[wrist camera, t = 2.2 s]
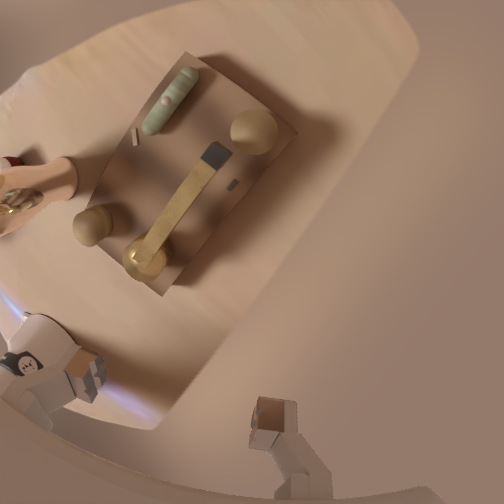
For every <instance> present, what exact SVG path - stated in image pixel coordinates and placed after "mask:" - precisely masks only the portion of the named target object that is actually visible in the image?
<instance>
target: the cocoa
mask: <svg viewBox="0 0 504 504" xmlns="http://www.w3.org/2000/svg"><path fill="white" fill-rule="evenodd" d="M14 166H24V164H23V162H22V161H21V160H20V159H19V158H16V157H0V170H1V169H5V168H9V167H14Z"/></svg>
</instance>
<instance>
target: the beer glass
mask: <svg viewBox="0 0 504 504" xmlns="http://www.w3.org/2000/svg"><path fill="white" fill-rule="evenodd" d="M77 185H78V175H77V171H76V168H75V166H74V164H73V163H72V162H71V161H70V160H69V159H67V158H65V157H59V158H56V159H54V160H53V161H51V162H49V163H47V164H44V165H32V166H14V167H9V168H5V169H1V170H0V237H1V236H3V235H6V234H8V233H10V232H12V231H14V230H16V229H17V228H19V227H21V226H22V225H24V224H25V223H27V222H28V221H29V220H31V219H32V218H33V217H34V216H36V215H37V214H38V213H39V212H41V211H42V210H43V209H44V208H46V207H47V206H48V205H50V204H52V203H55V202H61V201H66V200H68V199H70V198H71V197H72V196H73V195H74V194H75V192H76V189H77Z"/></svg>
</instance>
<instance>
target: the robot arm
mask: <svg viewBox="0 0 504 504" xmlns="http://www.w3.org/2000/svg"><path fill="white" fill-rule="evenodd" d="M21 322H22V324H21V325H20V327H19V328H18V329H17V330H16V331H15V333H14V334H13V335H12V336H11V337H10V339H9V340H8V342H7V343H8V352H7V353H6V354H5V355H4V356H3V357H2V358H1V359H0V504H447V503H446V501H445V500H444V499H443V498H441V497H440V496H439V495H438V494H437V493H436V492H434V491H433V490H432V489H431V488H429V487H427V486H418V487H414V488H410V489H406V490H401V491H396V492H390V493H385V494H378V495H372V496H364V497H355V498H345V499H333V488H332V474H331V472H330V470H329V469H328V468H327V467H326V465H325V464H324V463H323V462H322V460H321V459H320V458H319V457H318V455H317V454H316V453H315V452H314V450H313V449H312V448H311V446H310V445H309V444H308V443H307V441H306V440H305V439H304V437H303V436H302V435H301V434H298V429H297V404H296V402H295V401H289V400H283V399H274V398H267V397H259V398H258V400H257V406H256V407H255V408H254V412H253V415H252V421H251V428H252V431H251V434H250V439H249V448H250V449H256V450H263V451H269V454H270V456H271V458H272V459H273V461H274V463H275V465H276V466H277V468H278V470H279V471H280V473H281V475H282V477H283V478H284V480H285V482H284V483H283V484H282V485H281V486H280V487H279V488H278V489H277V490H276V491H275V494H274V499H263V498H252V497H243V496H236V495H228V494H222V493H216V492H211V491H206V490H201V489H196V488H191V487H187V486H183V485H179V484H175V483H171V482H168V481H164V480H161V479H157V478H154V477H151V476H148V475H145V474H142V473H139V472H136V471H133V470H130V469H127V468H125V467H122V466H120V465H117V464H115V463H112V462H110V461H107V460H105V459H102V458H100V457H98V456H96V455H94V454H91V453H89V452H87V451H85V450H83V449H81V448H79V447H77V446H75V445H73V444H71V443H69V442H67V441H65V440H64V439H62V438H60V437H58V436H56V435H55V434H53V433H51V432H50V430H51V429H52V427H53V424H52V422H51V421H50V419H49V417H48V416H47V415H49V414H50V413H52V412H54V411H55V410H57V409H59V408H61V407H62V406H64V405H66V404H67V403H69V402H71V401H72V400H74V399H76V397H77V398H79V399H81V400H84V401H86V402H88V403H91V404H92V403H93V401H94V399H95V397H96V396H97V394H98V392H97V388H99V387H101V386H102V385H103V383H104V381H105V378H106V368H105V366H104V365H103V364H102V363H103V361H104V360H103V356H102V355H100V354H97V353H95V352H92V351H90V350H88V349H85V348H83V347H81V346H78V345H76V344H75V342H74V341H73V339H72V338H71V337H70V336H69V334H68V333H67V332H66V331H65V330H64V329H63V328H62V327H61V326H60V325H58V324H57V323H56V322H55V321H53V320H52V319H50V318H48V317H46V316H44V315H40V314H35V315H30V314H28V313H25V312H24V313H23V314H22V315H21Z"/></svg>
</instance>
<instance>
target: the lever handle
mask: <svg viewBox="0 0 504 504" xmlns="http://www.w3.org/2000/svg"><path fill="white" fill-rule="evenodd" d="M232 155H233V153H232V152H231V151H230V150H228V149H227V148H226V147H224V146H223V145H222V144H221V143H219V142H218V141H216V142H212V143H211V144H210V146H209V147H208V148H207V149H206V151H205V152H204V153H203V155H202V156H201V157H200V160H199V161H198V162H197V164H196V165H195V166H194V168H193V169H192V170H191V172H190V173H189V174H188V176H187V177H186V178H185V180H184V181H183V183H182V184H181V185H180V187H179V188H178V190H177V191H176V192H175V194H174V195H173V197H172V198H171V199H170V201H169V202H168V204H167V205H166V207H165V208H164V210H163V211H162V213H161V214H160V216H159V217H158V219H157V220H156V222H155V223H154V225H153V226H152V228H151V229H150V231H146V232H144V233H142V234H141V235H140V236H139V237H138V238H136V239H135V240H134V241H133V242H132V243H131V244H129V245H128V246H127V247H126V248H125V250H124V252H123V255H122V262H123V265H124V268H125V270H126V271H127V273H128V274H129V275H130V276H131V277H132V278H134V279H135V280H137V281H140V282H151V281H154V280H155V279H156V278H157V277H158V276H159V275H160V273H161V272H162V271H163V269H164V268H165V267H166V265H167V264H168V263H169V261H170V260H171V257H172V246H171V244H170V242H169V240H168V237H169V236H170V235H171V233H172V232H173V230H174V229H175V228H176V226H177V225H178V223H179V222H180V221H181V219H182V218H183V217H184V215H185V214H186V213H187V211H188V210H189V208H190V207H191V206H192V204H193V203H194V202H195V200H196V199H197V198H198V197H199V195H200V194H201V193H202V191H203V190H204V189H205V187H206V186H207V185H208V184H209V182H210V181H211V180H212V178H213V177H214V176H215V175H216V173H217V172H218V171H219V170H220V169H221V168H222V167H223V166H224V164H225V163H226V162H227V161H228V159H229V158H230V157H231V156H232Z"/></svg>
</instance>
